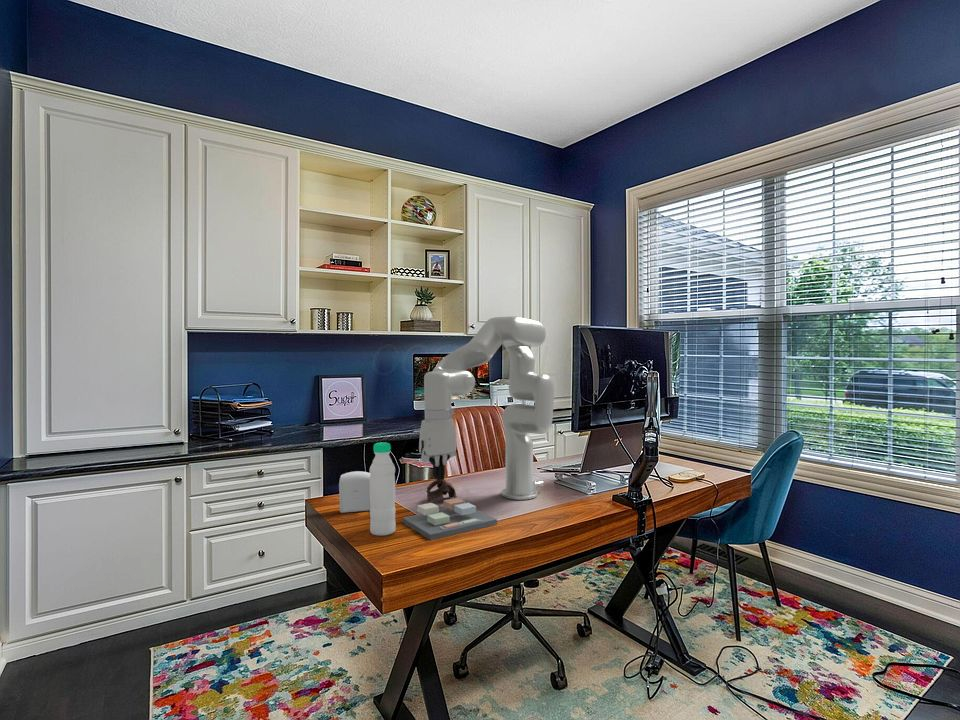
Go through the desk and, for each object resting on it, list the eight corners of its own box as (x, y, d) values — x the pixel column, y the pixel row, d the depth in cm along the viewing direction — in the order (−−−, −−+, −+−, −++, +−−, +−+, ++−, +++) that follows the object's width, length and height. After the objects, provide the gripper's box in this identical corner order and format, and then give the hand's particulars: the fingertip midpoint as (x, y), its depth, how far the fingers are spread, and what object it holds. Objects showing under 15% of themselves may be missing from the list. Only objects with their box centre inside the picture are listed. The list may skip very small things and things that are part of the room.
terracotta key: (457, 503, 165) (457, 497, 165) (464, 507, 162) (464, 501, 162) (443, 506, 163) (443, 500, 163) (451, 509, 159) (451, 503, 159)
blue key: (467, 508, 160) (467, 502, 160) (475, 512, 157) (475, 506, 157) (454, 511, 158) (454, 505, 158) (462, 515, 154) (462, 509, 154)
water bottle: (365, 532, 149) (364, 443, 148) (386, 526, 154) (385, 440, 153) (379, 538, 144) (378, 446, 143) (400, 532, 149) (400, 443, 148)
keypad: (465, 509, 169) (465, 503, 169) (497, 524, 155) (497, 517, 155) (402, 522, 157) (402, 516, 157) (430, 540, 143) (430, 532, 143)
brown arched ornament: (459, 505, 175) (448, 485, 173) (434, 517, 176) (422, 498, 173) (458, 486, 187) (447, 468, 184) (434, 498, 187) (423, 480, 185)
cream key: (431, 508, 160) (431, 502, 160) (438, 512, 157) (438, 506, 157) (417, 511, 158) (417, 505, 158) (424, 515, 154) (424, 509, 154)
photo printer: (339, 514, 165) (338, 474, 165) (339, 509, 169) (339, 471, 169) (373, 511, 168) (372, 472, 167) (372, 507, 172) (372, 469, 172)
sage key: (441, 518, 155) (441, 512, 155) (449, 522, 152) (449, 516, 152) (427, 521, 153) (427, 515, 153) (434, 525, 149) (434, 519, 149)
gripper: (453, 411, 159) (454, 472, 159) (408, 415, 150) (409, 480, 151) (467, 414, 152) (468, 477, 153) (420, 419, 144) (421, 486, 145)
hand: (439, 478), depth 152 cm, fingers closed
